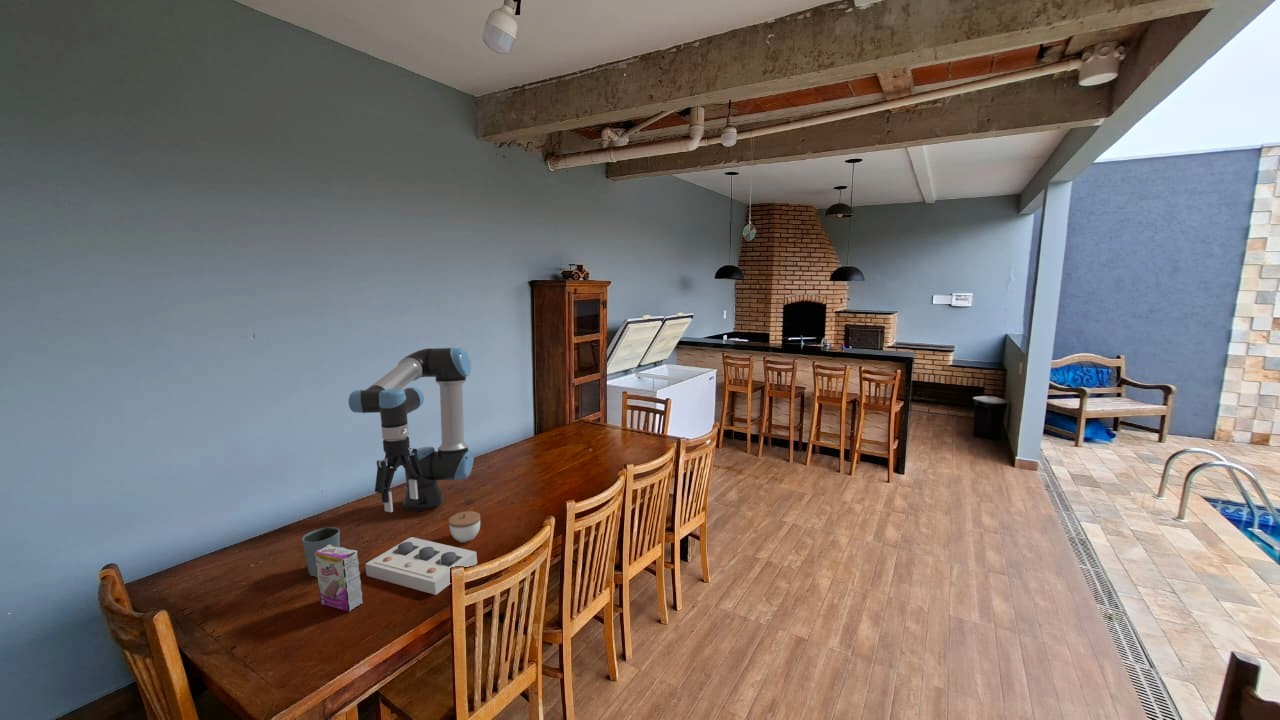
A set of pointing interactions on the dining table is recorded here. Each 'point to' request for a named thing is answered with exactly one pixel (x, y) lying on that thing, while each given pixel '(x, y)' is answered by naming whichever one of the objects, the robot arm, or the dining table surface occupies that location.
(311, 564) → the grey plant pot
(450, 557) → the button
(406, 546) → the button
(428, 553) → the button
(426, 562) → the button board
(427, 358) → the robot arm
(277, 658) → the dining table surface
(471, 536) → the lidded jar
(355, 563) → the candy bar box
